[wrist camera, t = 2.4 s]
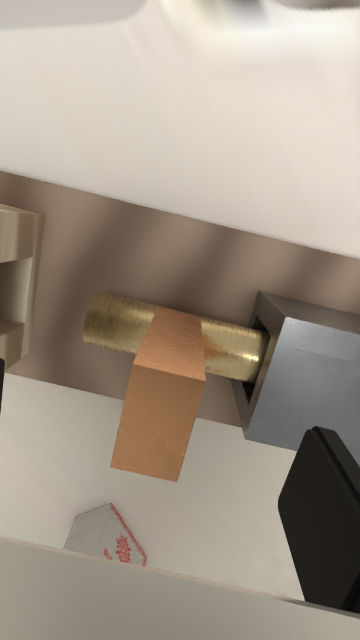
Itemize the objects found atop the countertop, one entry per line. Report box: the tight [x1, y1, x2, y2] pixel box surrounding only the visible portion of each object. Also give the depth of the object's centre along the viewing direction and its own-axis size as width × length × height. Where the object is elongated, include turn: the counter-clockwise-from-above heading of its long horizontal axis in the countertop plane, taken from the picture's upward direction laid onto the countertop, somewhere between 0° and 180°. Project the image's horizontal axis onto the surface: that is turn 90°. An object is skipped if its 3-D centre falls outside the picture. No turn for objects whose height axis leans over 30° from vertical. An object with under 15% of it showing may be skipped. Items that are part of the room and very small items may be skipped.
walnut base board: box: [0, 171, 360, 427], centre depth 25 cm, size 38×14×2 cm, turn 77°
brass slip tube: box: [83, 292, 271, 482], centre depth 17 cm, size 22×4×11 cm, turn 77°
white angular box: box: [63, 503, 146, 567], centre depth 26 cm, size 4×7×10 cm, turn 26°
